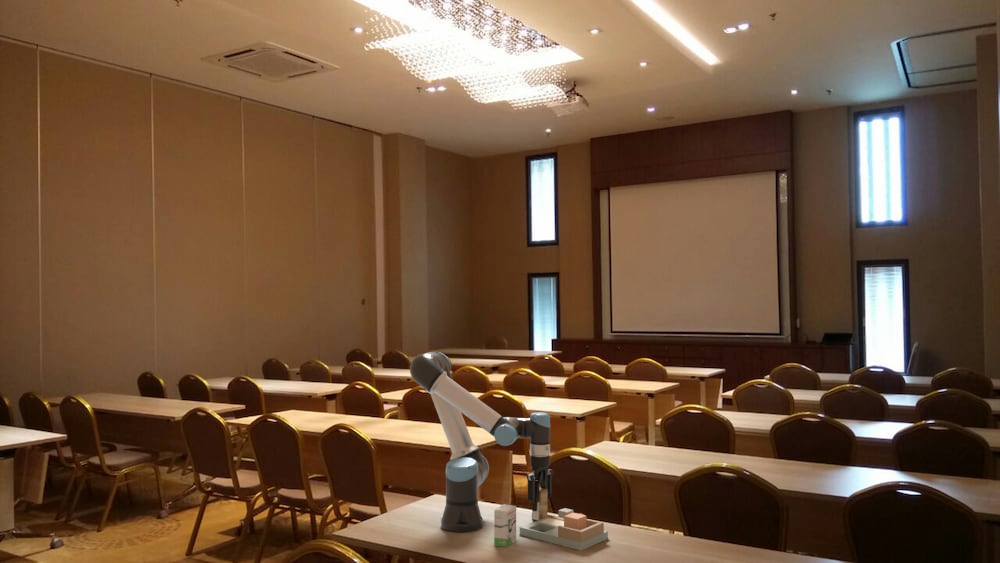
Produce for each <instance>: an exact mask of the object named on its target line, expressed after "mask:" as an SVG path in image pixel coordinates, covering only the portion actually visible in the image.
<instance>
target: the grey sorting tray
mask: <svg viewBox="0 0 1000 563" xmlns="http://www.w3.org/2000/svg"><path fill="white" fill-rule="evenodd" d="M604 524H605V522H603V521H597V520H593V519H589V518H586V526H587V528H584V529H582V530H576V529H572V528H568V527H564V521H562V520H558V519H554V518H550V517H546V518H543V519H540V520H534V521H533V522H530V523H526V524H525V525H524V524H523V525H522V526H519V535H521V536H525V537H528V538H532V539H535V540H538V541H543V542H546V543H547V542H548V543H551V544H555V545H559V546H562V547H566V548H570V549H574V550H577V551H581V552H582V551H584V550H586V549H589V548H591V547H593V546H594V545H597V544H599V543H602V542H603V541H606V540H608V539H609V531H607V530H605V527H604V526H605V525H604Z"/></svg>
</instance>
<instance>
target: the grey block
mask: <svg viewBox="0 0 1000 563" xmlns="http://www.w3.org/2000/svg"><path fill="white" fill-rule="evenodd" d="M557 511H558V512H557V513H558V514H557V515H558V516H557V517H560V518H564V516H566V515H568V514H571V513H574V509H570V508H566V507H564V508H560V509H559V510H557Z"/></svg>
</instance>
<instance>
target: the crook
mask: <svg viewBox="0 0 1000 563" xmlns="http://www.w3.org/2000/svg"><path fill="white" fill-rule="evenodd" d="M538 502H539V520H540V519H543V518H546V517H550V518H554V519H558V520H562V521H564V518H560V517H558V516H557V515H552V514H548V506H547V489H545V488H541V487H540V489H539V497H538ZM578 514H582V515H584V514H583V513H580V512H579V513H578ZM533 520H534V521H536V520H535V519H533Z"/></svg>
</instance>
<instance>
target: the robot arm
mask: <svg viewBox="0 0 1000 563" xmlns="http://www.w3.org/2000/svg"><path fill="white" fill-rule="evenodd" d="M451 370H452V364H451V362H450V359H449V358H448V356H446V354H444V353H442V352H440V351H429V352H424V353H421V354H420V353H419V354H418V355H416V356H415V357H414V358H413V359H412V361H411V363H410V366H409V372H410V376H411V378H412V380H413V381H414V382H415V383H416V384H417V385H419V386H420V387H421V388H423V390H424V391H425V392H426V393H427V394H428V393H429V395H430V397H431V399H432V402H433V404H434V408H435V410H436V412H437V415H438V419H439V420H440V423H441V426H442V429H443V432H444V434H445V438H446V439H447V442H448V445H449V448H450V451H451V455H450V458H449V461H448V462H446V466H445V472H444V473H445V507H444V509H443V513H442V517H441V519H440V527H441V528H442V530H446V531H449V532H452V533H453V532H454V533H455V532H456V533H467V532H468V533H469V532H473V531H477V530H480V529H481V528H482V527H483V526H484V520H483V517H482V514H481V510H480V505H479V487H480V486H481V485H482V484H483V483H484V482H485V481H486V480H487V479H488V475H489V472H490V465H489V462H488V460H487V458H486V457H484V455H482V452H481V450H480V447H479V446H477V445H475V444H474V443H473V441H472V438H471V435H470V432H469V429H468V427H467V424H466V421H465V418H464V417H463V415H464V416H466V417H467V418H468V419H470V420H471V421H473V422H474V424H476V425H477V426H479V427H480V428H482V429H483V430H484V431H486V432H487V433H488V434H490V435H491V436H493V438H494V440H495V442H496V443H497V444H498V445H500V446H502V447H507V446H510V445H513V443H515V442H516V441H517V439H529V441H530V442H529V453H530V455H529V465H530V466H531V467H532V468H531V470H530V471H531V472H530V473H529V474H526V479H527V501H529V502H531V510H532V512H531V518H532V520H534V519H535V520H534V521H538V520H539V502H538V497H539V489H540V488H545V489H547V507H548V503H549V501H548V500H551V497H552V494H553V491H552V490H553V488H552V487H553V474H554V469H550V468H549V466H550V465H551V456H550V454H551V416H550V414H548V413H546V412H532V413H530V415H529V416H530V417H510V416H505V417H504V416H502V415H501V414H499V413H498V412H497V411H496V410H494V409H493V408H492V407H490V406H488V405H487V404H486V403H484V402H483V401H482V400H480V399H479V398H478V397H476V396H475V395H474V394H473V393H471V392H470V391H468V390H467V389H466V388H464V387H462V386H461V385H460V384H459V383H457V382H456V381H454V378H453V376H452V373H451Z"/></svg>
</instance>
